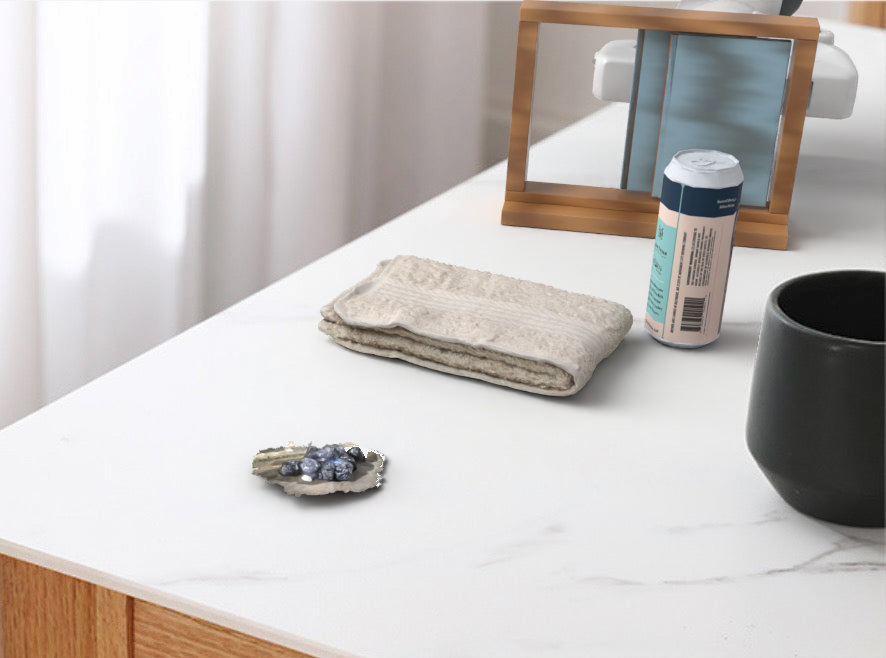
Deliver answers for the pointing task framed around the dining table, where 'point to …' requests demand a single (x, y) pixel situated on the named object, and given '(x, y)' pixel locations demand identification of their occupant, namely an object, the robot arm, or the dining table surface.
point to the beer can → (693, 247)
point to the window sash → (646, 108)
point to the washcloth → (477, 324)
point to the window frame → (681, 117)
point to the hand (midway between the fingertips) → (724, 105)
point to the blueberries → (318, 468)
